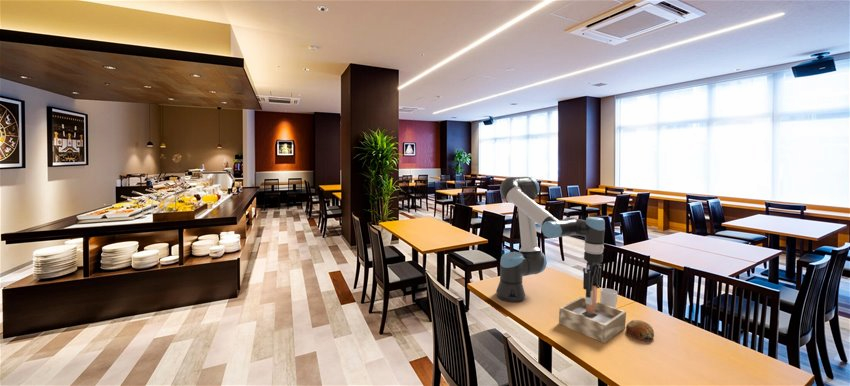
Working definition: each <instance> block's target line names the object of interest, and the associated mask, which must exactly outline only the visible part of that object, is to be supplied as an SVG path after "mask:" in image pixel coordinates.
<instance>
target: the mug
mask: <svg viewBox="0 0 850 386" xmlns="http://www.w3.org/2000/svg"><path fill="white" fill-rule="evenodd" d="M599 303H602V304H605V305H608V306H611V307H614V308H617V303H618V291H617V290H615V289H612V288H605V287H604V288H603V287H602V288H601V289H600V301H599Z"/></svg>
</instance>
